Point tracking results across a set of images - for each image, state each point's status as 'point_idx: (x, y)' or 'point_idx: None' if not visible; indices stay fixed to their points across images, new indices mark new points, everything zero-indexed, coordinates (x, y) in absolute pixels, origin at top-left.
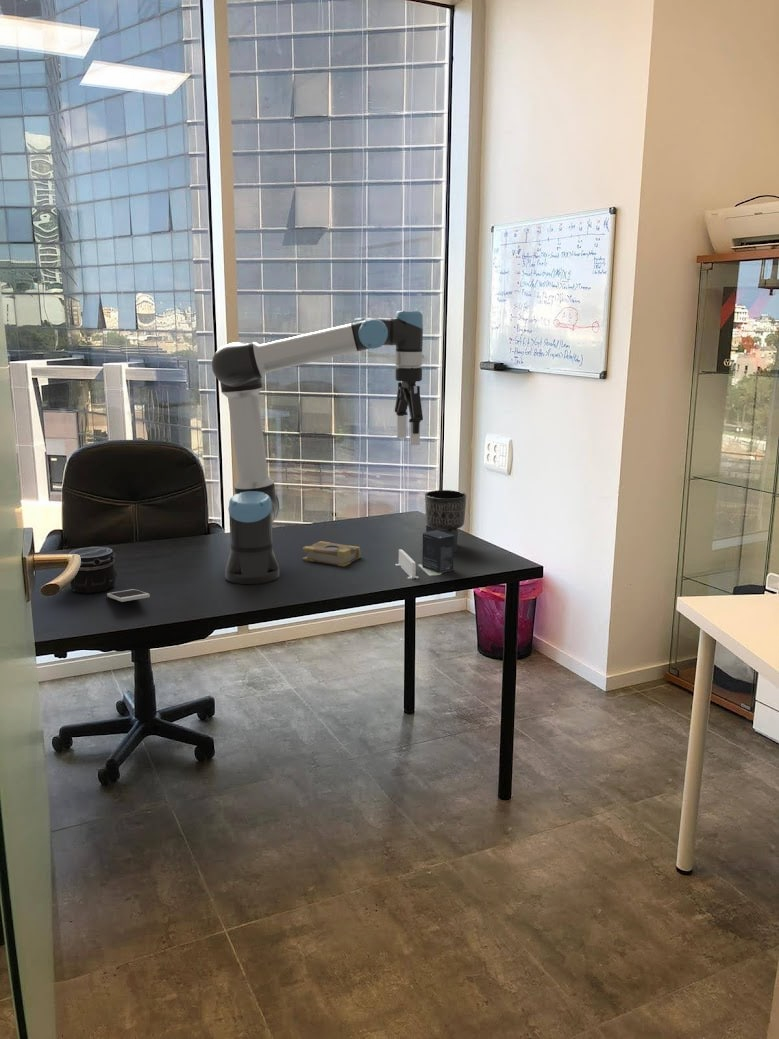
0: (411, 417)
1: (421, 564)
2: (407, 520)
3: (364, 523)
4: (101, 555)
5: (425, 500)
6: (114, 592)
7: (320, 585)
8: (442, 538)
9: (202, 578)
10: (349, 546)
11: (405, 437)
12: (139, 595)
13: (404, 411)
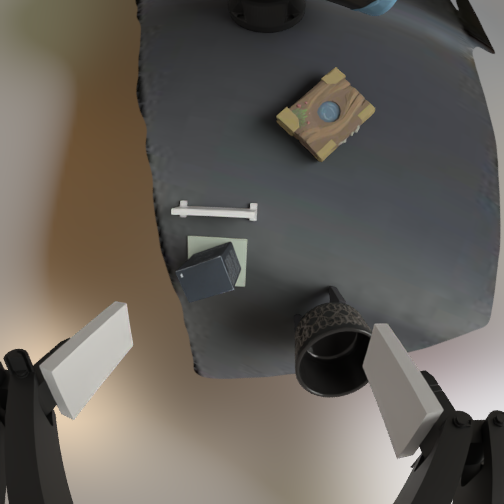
0: (19, 385)
1: (245, 245)
2: (468, 307)
3: (482, 242)
4: None
5: (352, 322)
6: None
7: (196, 74)
8: (178, 276)
9: None
10: (329, 142)
11: (363, 363)
12: None
13: (411, 475)
